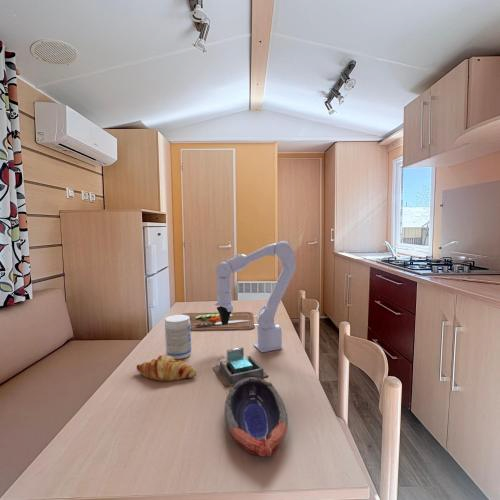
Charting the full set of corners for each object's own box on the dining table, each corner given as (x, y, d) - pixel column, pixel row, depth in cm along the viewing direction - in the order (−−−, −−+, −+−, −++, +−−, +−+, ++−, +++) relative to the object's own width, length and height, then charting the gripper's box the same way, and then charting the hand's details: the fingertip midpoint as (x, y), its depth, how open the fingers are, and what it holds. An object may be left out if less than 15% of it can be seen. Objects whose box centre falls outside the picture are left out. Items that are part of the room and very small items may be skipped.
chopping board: (257, 314, 172) (257, 308, 172) (260, 330, 145) (260, 324, 145) (177, 315, 171) (177, 310, 171) (165, 332, 144) (165, 326, 144)
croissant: (199, 383, 104) (202, 358, 107) (190, 384, 95) (194, 356, 98) (140, 378, 107) (145, 354, 110) (126, 378, 98) (132, 352, 101)
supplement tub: (195, 356, 117) (194, 318, 116) (171, 362, 112) (169, 323, 110) (185, 347, 125) (184, 312, 124) (162, 353, 120) (161, 316, 118)
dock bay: (251, 359, 114) (251, 351, 113) (268, 376, 101) (268, 368, 101) (212, 367, 108) (212, 359, 107) (225, 386, 95) (225, 377, 95)
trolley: (244, 364, 109) (244, 346, 109) (255, 375, 101) (254, 356, 100) (224, 368, 106) (224, 350, 106) (234, 380, 98) (233, 360, 97)
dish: (276, 388, 94) (276, 373, 93) (297, 468, 63) (297, 446, 63) (226, 390, 93) (226, 375, 93) (222, 472, 63) (222, 450, 62)
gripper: (209, 289, 129) (210, 320, 130) (220, 296, 116) (220, 331, 117) (225, 287, 132) (226, 318, 133) (237, 294, 118) (238, 328, 120)
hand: (224, 324), depth 125 cm, fingers closed
